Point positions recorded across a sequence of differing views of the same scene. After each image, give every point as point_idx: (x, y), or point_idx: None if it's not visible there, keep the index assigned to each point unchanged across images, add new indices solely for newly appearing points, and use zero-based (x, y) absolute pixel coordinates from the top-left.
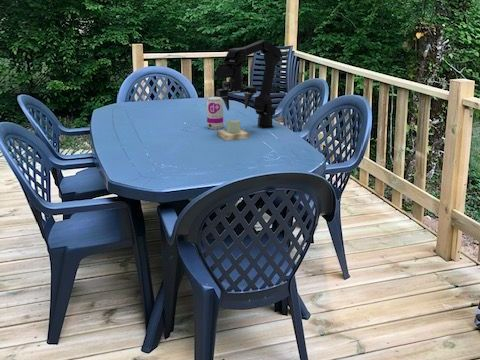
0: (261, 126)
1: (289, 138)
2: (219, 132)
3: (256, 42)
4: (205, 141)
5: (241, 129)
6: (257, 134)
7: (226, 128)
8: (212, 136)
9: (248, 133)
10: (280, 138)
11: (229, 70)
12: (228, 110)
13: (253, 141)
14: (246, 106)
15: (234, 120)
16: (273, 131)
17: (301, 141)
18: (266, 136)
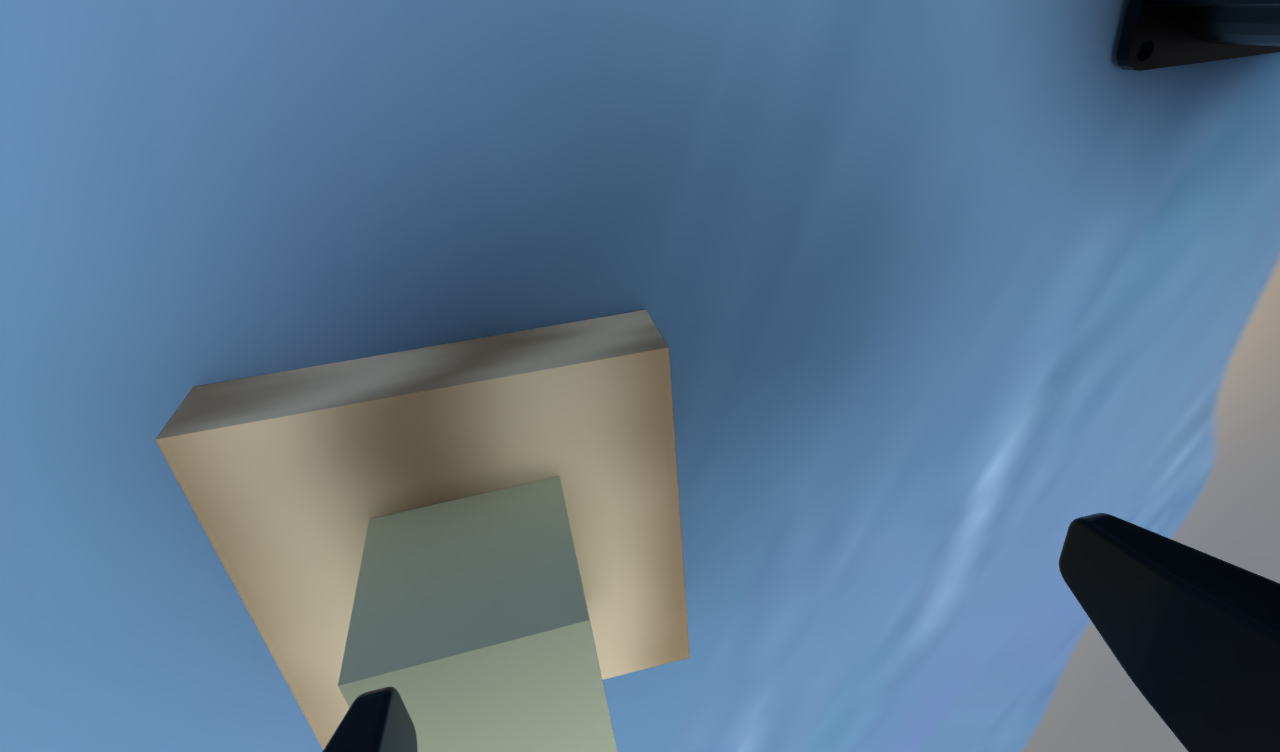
0: (1153, 3)
1: (1027, 627)
2: (227, 561)
3: None
4: (13, 701)
5: (655, 450)
6: (841, 437)
7: (363, 550)
8: (107, 449)
9: (672, 661)
10: (960, 623)
11: None
12: (404, 724)
13: (664, 707)
14: (1118, 644)
15: (531, 682)
16: (1104, 318)
17: (1039, 711)
18: (885, 541)
